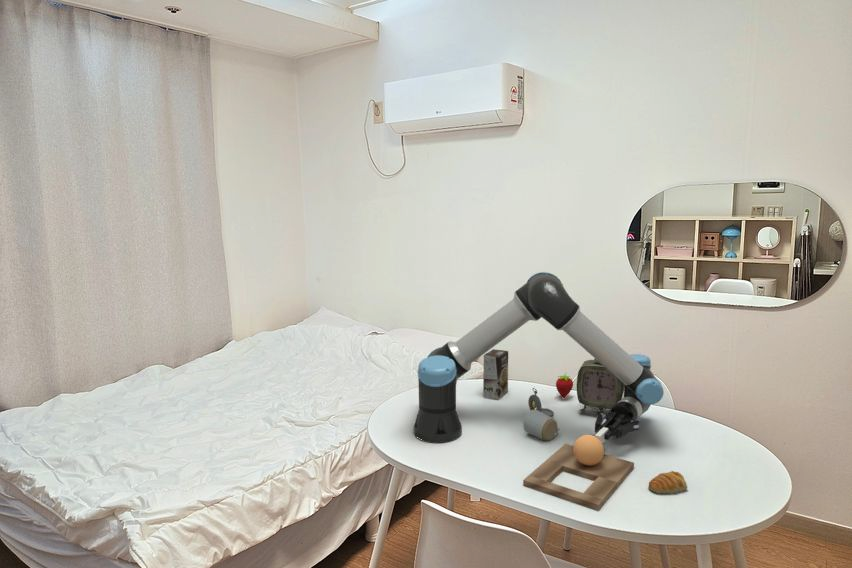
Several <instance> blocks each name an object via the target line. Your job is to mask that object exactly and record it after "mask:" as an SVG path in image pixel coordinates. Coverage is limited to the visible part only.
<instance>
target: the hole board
mask: <svg viewBox="0 0 852 568" xmlns="http://www.w3.org/2000/svg"><path fill="white" fill-rule="evenodd" d="M573 447H574V445H572V444H569V443H564V444H563V445H562V446H561V447H560V448H558V449H557V450H556V451H555V452H554V453H553V454H552V455H550V456H549V457H548V458H547V459H546V460H545V461H544V462H542V463H541V464H540V465H539V466H538V467H536V468H535V469H534V470H533V471H532V472H531V473H529V474H528V475H527V476H526V477H525V478H524V479H523V481H522V482H523V483H522V486H524V487H527V488H530V489H532V490H536V491H539V492H542V493H544V494H548V495H551V496H554V497H555V498H559V499H562V500H566V501H568V502H571V503H574V504H576V505H577V504H578V505H580V506H582V507H586V508H589V509H592V510H595V511H599V510H600V509H602V507H603V506H604V505H605V503H606V502H607V501H608V500H609V498H610V497H611V496H612V495H613V494H614V492H615V491H616V490H617V489H618V487H619V486H620V485H621V484H622V483H623V482H624V481H625V479H626V478H627V476H629V474H630V473H631V471H632V470H634V468H635V462H633V461H629V460H626V459H623V458H620V457H616V456H612V455H609V454H604V455H603V458H602V459H601V461H600V462H599V463H597V464H595V465H591V466H588V465H584V464H582V463H580V462H579V461H578V460H577V459H576V457H575V455H574V451H573ZM562 472H565V473H567V474H572V475H575V476H578V477H581V478H584V479H587V480H591V481H593V482H592V483H591V484H590V485H589V486H588V487H587V488H586V489H585V490H584V492H581V491H578V490H575V489H572V488H569V487H566V486H563V485H560V484H557V483H553V480H555V479H556V478H557V477H558V476H559V475H560V474H561V473H562Z"/></svg>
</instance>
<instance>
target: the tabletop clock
mask: <svg viewBox="0 0 852 568" xmlns="http://www.w3.org/2000/svg"><path fill="white" fill-rule="evenodd" d="M624 385H625V384H624V383H623V382H621V381H620V380H619V379H618V378H617V377H616V376H615V375H614V374H612V373H611V372H610V371H609V370H608V369H607V368H606V367H604V366H603V365H602V364H601V363H600V362H599V361H598V360H596V359H595V358H594V359H587V360H584V361H583V363H582V365H581V366H580V368H579V369H578V373H577V377H576V397H577V400H578V402H579V404H581V405H583V408H581V409H579V413H580V414H582V415H583V414H585V412H586V410H585V409H586V408H587V407H589V408H595V409H597V410H598V412H603V411H604V410H611V409H612V407H613V406H615V405H616V404H617V403H618V402H619V401H620V400H621V399H622V398H623V397H624Z"/></svg>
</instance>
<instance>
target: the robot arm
mask: <svg viewBox="0 0 852 568" xmlns="http://www.w3.org/2000/svg"><path fill="white" fill-rule="evenodd" d="M541 318H542V319H543V320H545V322H547V323H548V324H550V325H551V326H552V327H553V328H554V329H556V330H557V331H563V332H564V333H565V334H567V336H569V337H570V338H571V339H572V340H574V342H576V343H577V344H578V345H579V346H580V347H581V348H583V349H584V350H585V351H586V352H587V353H588V354H589V355H590V356H592V357H593V358H594V359H596V360H598V361H599V362H600V363H601V364H602V365H603V366H604V367H606V368H607V369H608V370H609V371H610V372H611V373H612V374H614V375H615V376H616V377H617V378H618V379H619V380H620V381H621V382H623V383H624V384H625V385H624V393H623V396H622V399H621V400H620V401H619V402H618V403H617V404H616V405H615V406H613V407H612V409H609V411H608V412H606V413H605V414H604V413H601V412H602V411H597V412H596V420H595V423H594V432H595V434H594V437H596V438H597V439H599V440H600V442H601V443H602V444H603V443H604V442H605V441H608V440H610V439H611V438H614V437H615V438H617V439H621V438H622V437H624V436H626V435H629V434H631V433H632V432H636V431H639V430H640V429H639V428H640V421H639V419H640V418H641V417H642V415H643V414H644V413H646V412H647V411H648V410H649V408H651V406H652V405H655V404H657V403H659V402H660V401H661V400H662V399H663V397H664V391H665V390H664V388H663V386H662V383H661V382H660V381H659V380H658V379H657V377H656V376H655V375H654V374H653V372H652V371H651V367H652V364H651V358H650V357H649V356H647V355H645V354H641V353H640V354H639V353H638V354H637V353H635V354H633V353H632V354H629V353H628V352H627V351H626V350H624V349H623V348H622V347H621V346H620V345H619V344H618V343H616V342H615V341H614V340H613V339H612V338H611V337H610V336H609V335H607V334H606V333H605V332H604V331H603V330H602V329H600V327H598V325H596V324H595V322H593V320H591V319H589V318H588V317H587V316H586V315H585V314H584V313H583V312H582V311H581V307H580V305H579V304H577V302H575V300H574V299H573V298H572V297H571V296H570V295H569V293H568V291H566V289H565V287H564V284H563V283H562V281H561V280H560V278H558V276H556V275H555V274H553V273H550V272H546V271H542V272H537V273H534V274H532V275H531V276H530V277H529V278H528V280H527V281H526V283H524V284H523V285H522V286H521V287H519V288H518V289H516V291H514V294H513V298H512V299H511V300H510V301H508V302H507V303H506V304H505V305H503V306H502V307H501V308H499V309H497V311H495V312H494V313H493V314H491V315H490V316H488V317H487V318H486V319H485V320H483V321H482V322H481V323H479V324H478V325H477V326H475V327H474V328H472V330H470V331H468V332H467V333H466V334H465V335H463V336H462V337H460V339H458V340H456V341H451V340H450V341H448V342H446V343H445V344H443V345H442V346H441V347H437V348H435V349H433V350H432V351H431V352H430V353H429V354H428V355H427V357H425V358H423V359H421V361H420V362H419V363H418V366H417V367H418V369H417V377H418V378H417V379H418V382H417V383H418V412H417V415H416V416H415V417H416V418H415V420H414V424H413V435H414V434H415V435H414V436H415V437H416V438H417V437H418V438H420V439H422V440H421V441H423V440H424V442H426V441H428V442H427V443H433V442H437V444H440V443H442V444H443V443H449V442H452V441H455V440H458V439H459V438H460V437H461V436H462V433H463V431H462V430H463V428H462V427H463V426H462V423H461V420H460V416H459V414H458V412H457V411H458V410H457V382H458V379H460V378H461V377H462V376H464V375H465V374H466V373H468V372H469V371H470V370H471V369H472V363H474V362H475V361H476V360H477V359H479V358H480V357H481V356H484V355H485V354H486V353H488V352H489V351H491V350H492V349H494V347H495V346H496V345H498V344H499V343H501V342H502V341H504V340H505V339H506V338H507V337H509V336H510V335H512V334H513V333H514V332H516V331H517V330H518V329H520V328H521V327H523V326H524V325H526V324H527V323H528V322H529V321H532V322H533V321H534V322H536V321H539V320H540V319H541ZM604 420H605V421H604ZM418 438H417V439H418ZM420 439H419V440H420Z"/></svg>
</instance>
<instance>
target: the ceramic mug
mask: <svg viewBox="0 0 852 568" xmlns="http://www.w3.org/2000/svg"><path fill="white" fill-rule="evenodd" d="M522 426H523V430H524V432H526V433H527V434H528V435H532V436H533V437H536V438H538V439H541V440H542V441H550V440H552V439H553V438H554V437H555V435H556V434H557V435H558V434H559V432H560V428H559V427H558V422H557V421H556V419H554V418H553V416H552V417H550V416H548V415H546V414H544V413H542V412H540V411H538V410H536V409H535V410H529V412H528V413H526V415H525V417H524V419H523V425H522Z"/></svg>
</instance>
